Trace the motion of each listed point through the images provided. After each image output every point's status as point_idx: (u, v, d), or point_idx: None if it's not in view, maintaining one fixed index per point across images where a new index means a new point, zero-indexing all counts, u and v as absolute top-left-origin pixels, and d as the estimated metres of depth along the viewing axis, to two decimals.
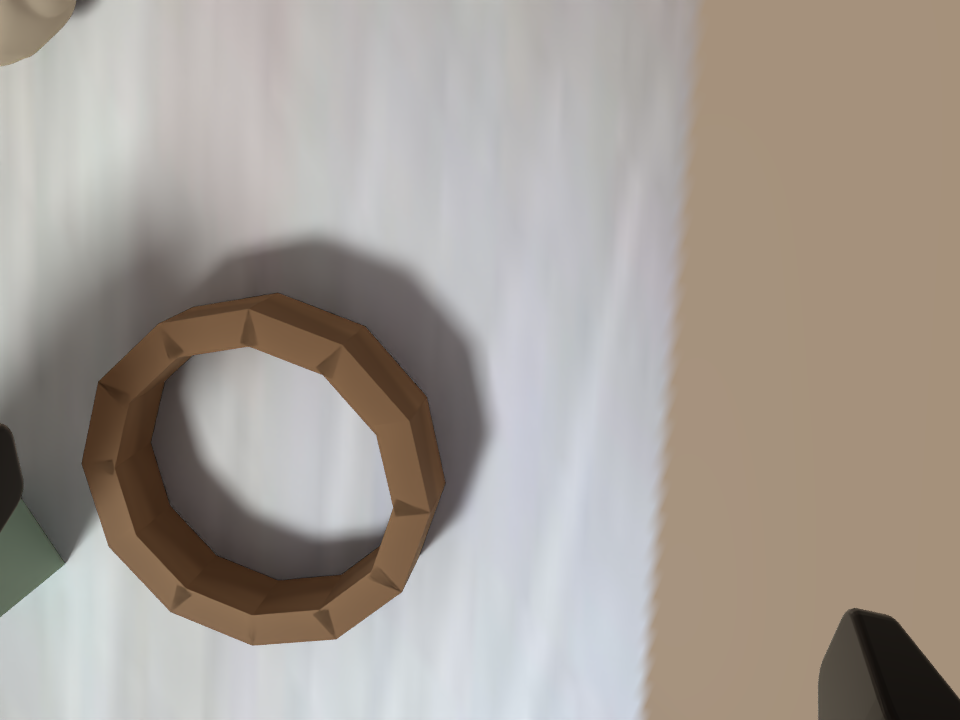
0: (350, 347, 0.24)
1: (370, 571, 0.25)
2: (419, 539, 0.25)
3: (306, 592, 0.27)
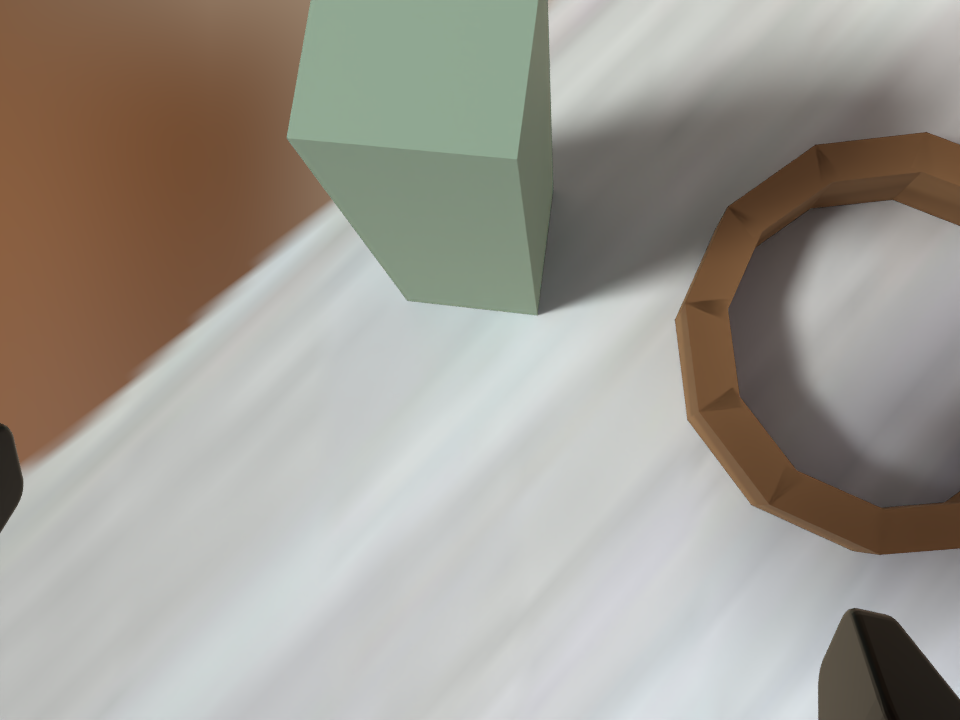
0: None
1: None
2: None
3: None
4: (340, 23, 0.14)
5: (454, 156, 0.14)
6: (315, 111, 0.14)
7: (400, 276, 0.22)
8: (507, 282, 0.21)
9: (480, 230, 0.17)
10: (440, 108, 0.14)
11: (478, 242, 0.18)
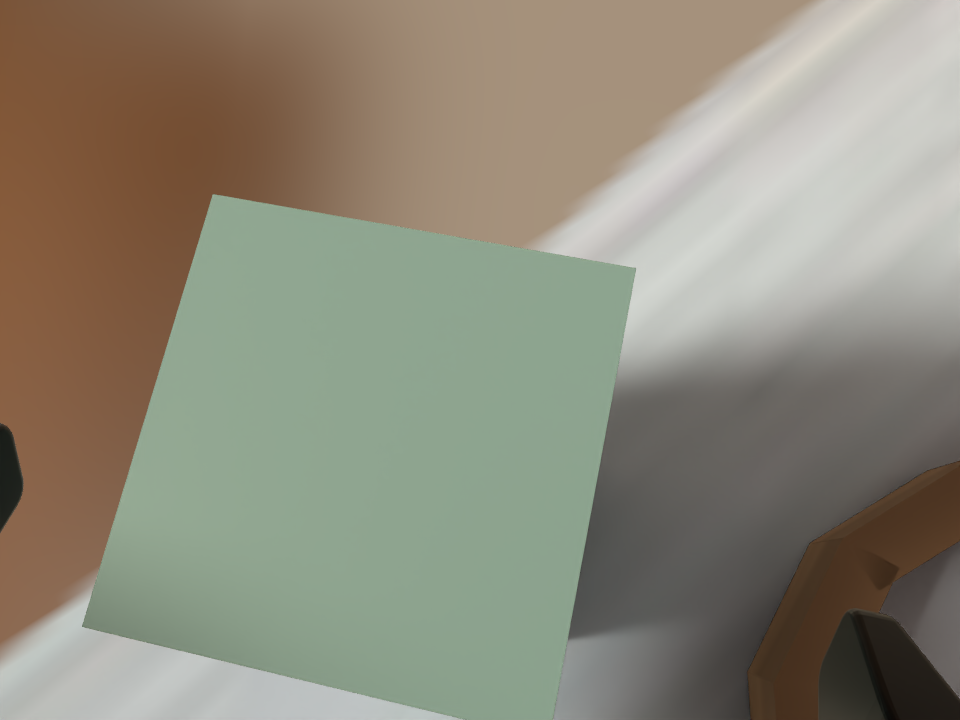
0: None
1: None
2: None
3: None
4: (220, 391, 0.07)
5: (418, 706, 0.07)
6: (147, 575, 0.07)
7: None
8: None
9: None
10: (399, 600, 0.07)
11: None
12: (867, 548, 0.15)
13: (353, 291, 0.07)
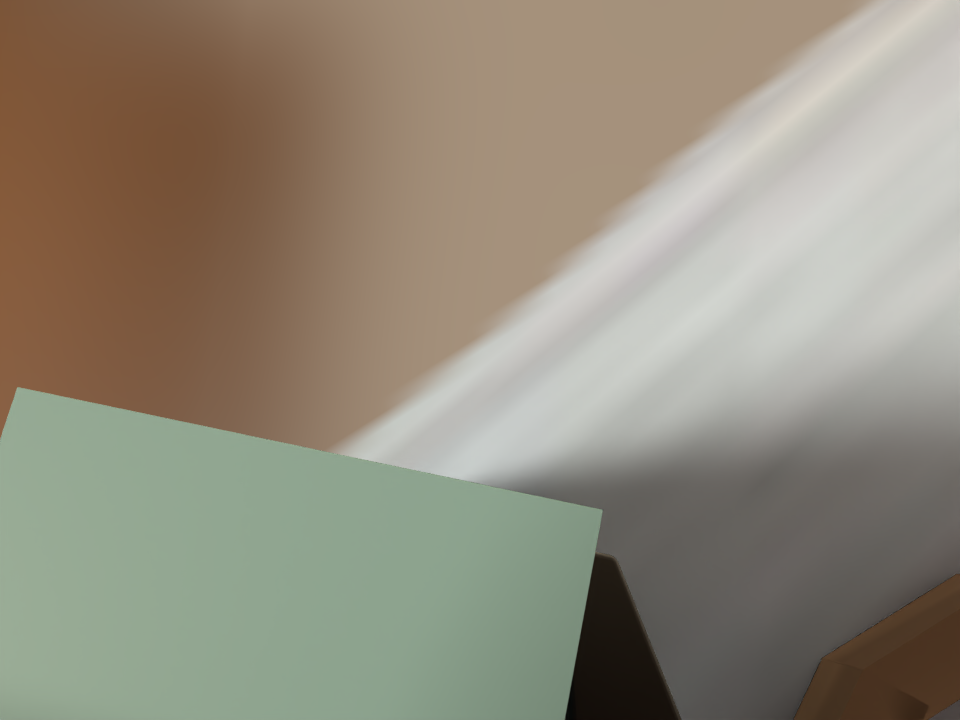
0: None
1: None
2: None
3: None
4: (13, 684, 0.05)
5: None
6: None
7: None
8: None
9: None
10: None
11: None
12: (891, 682, 0.13)
13: (204, 534, 0.05)
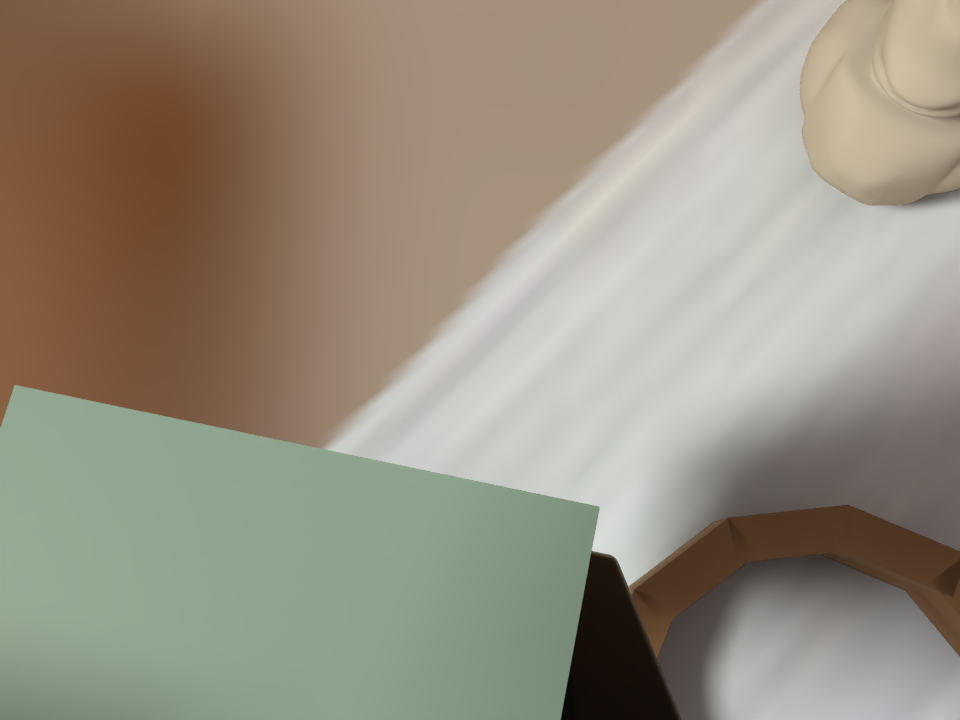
0: None
1: None
2: None
3: None
4: (9, 681, 0.05)
5: None
6: None
7: None
8: None
9: None
10: None
11: None
12: (652, 595, 0.20)
13: (201, 533, 0.05)
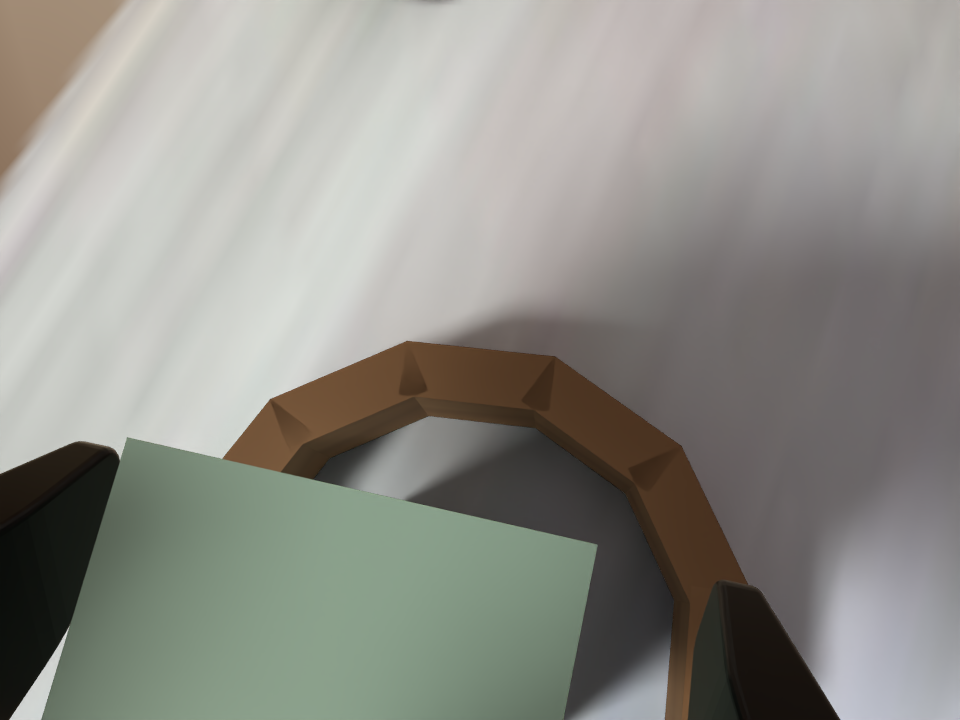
0: (684, 457, 0.16)
1: None
2: None
3: None
4: (129, 676, 0.06)
5: None
6: None
7: None
8: None
9: None
10: None
11: None
12: None
13: (280, 559, 0.07)
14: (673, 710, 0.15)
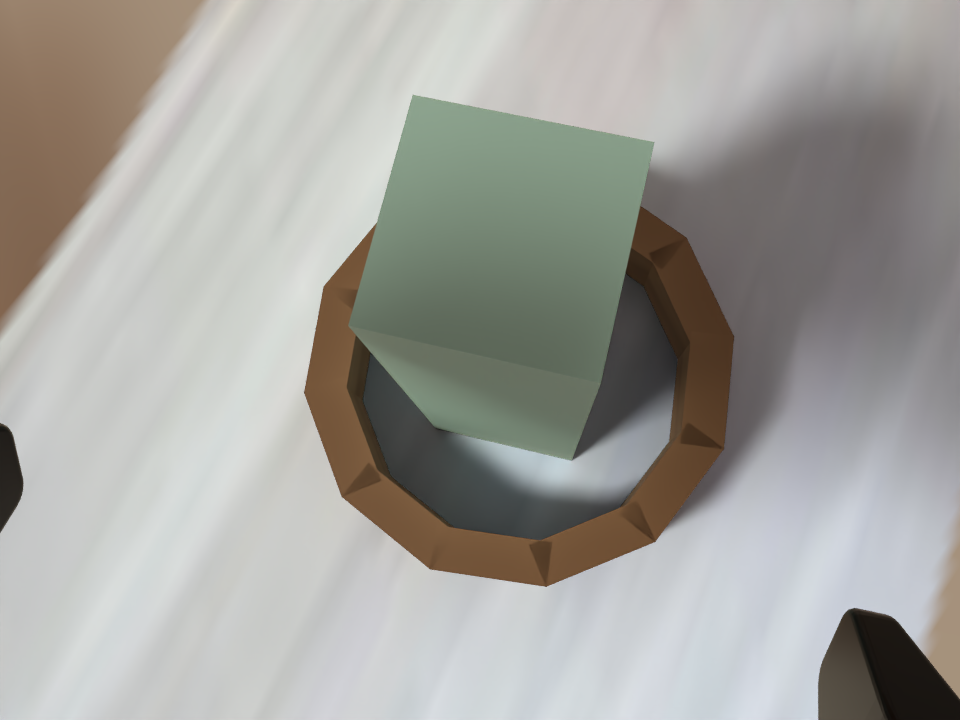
0: (688, 247, 0.22)
1: (623, 506, 0.21)
2: (700, 478, 0.21)
3: None
4: (420, 204, 0.13)
5: (531, 368, 0.12)
6: (383, 300, 0.13)
7: (435, 415, 0.21)
8: (549, 439, 0.20)
9: (536, 410, 0.16)
10: (521, 314, 0.12)
11: (529, 415, 0.17)
12: (340, 287, 0.22)
13: (494, 150, 0.13)
14: (676, 423, 0.22)
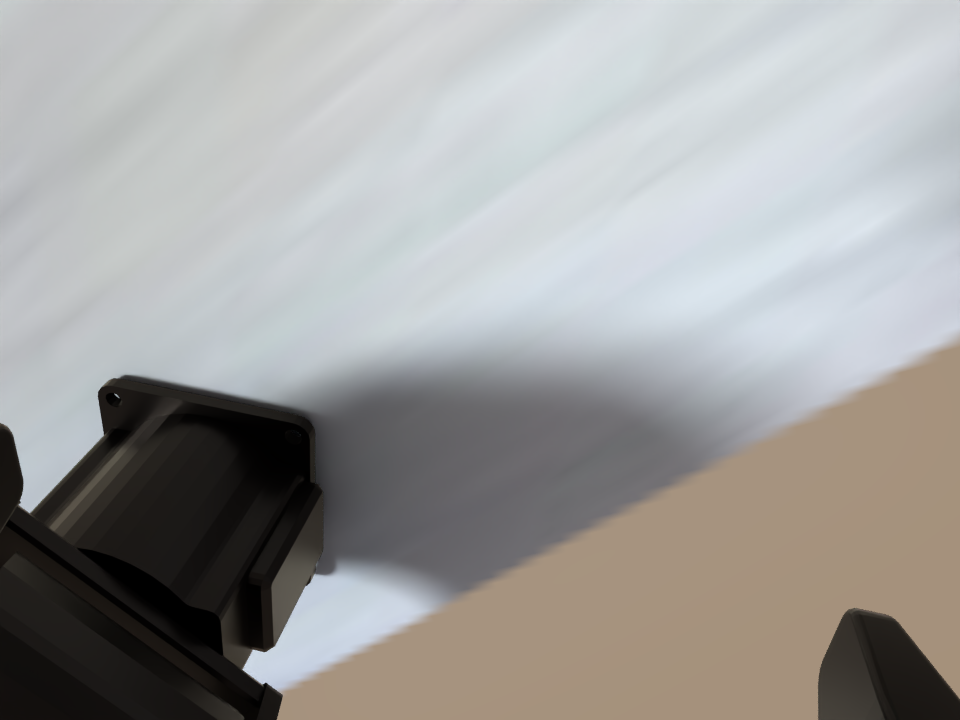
0: None
1: None
2: None
3: None
4: None
5: None
6: None
7: None
8: None
9: None
10: None
11: None
12: None
13: None
14: None
